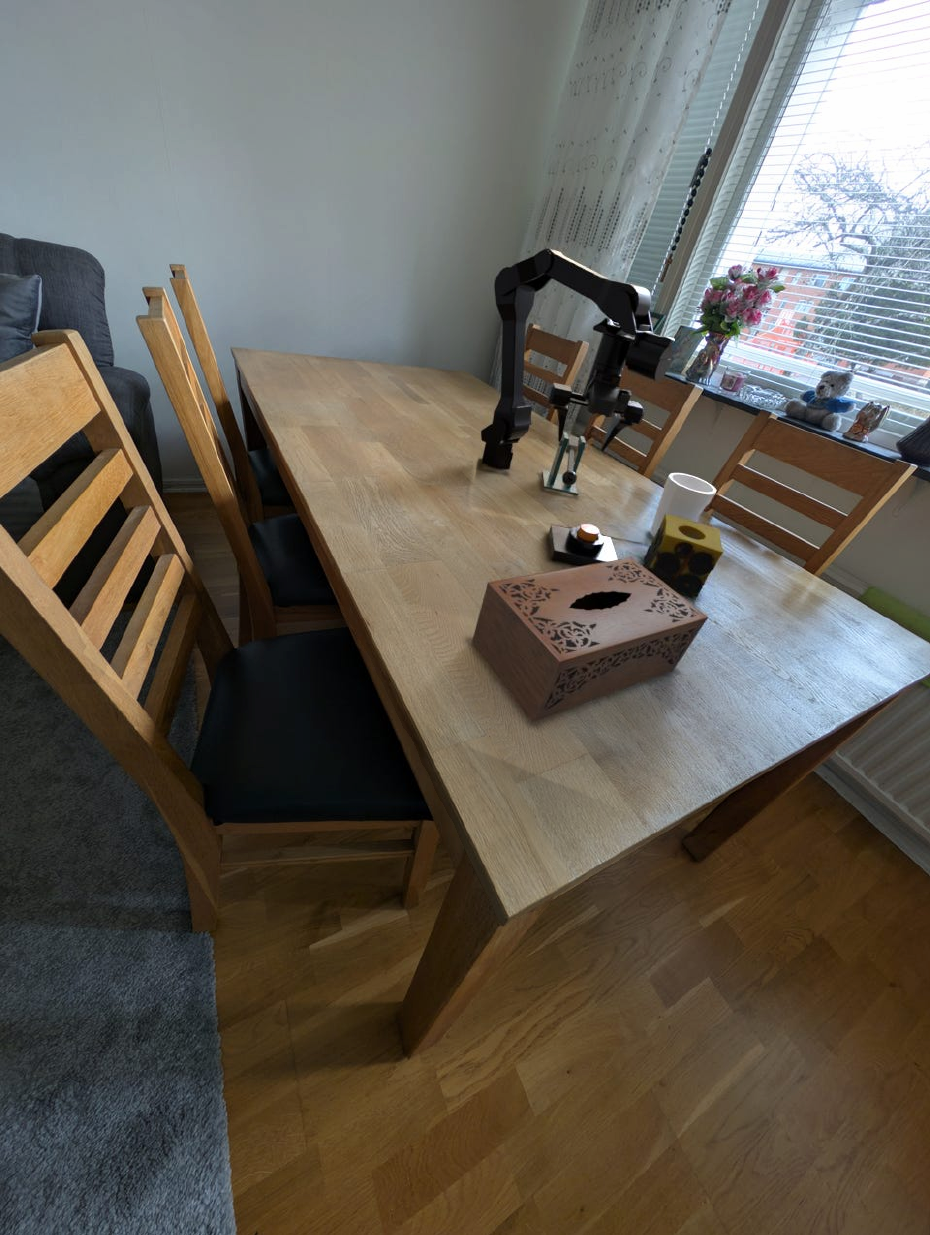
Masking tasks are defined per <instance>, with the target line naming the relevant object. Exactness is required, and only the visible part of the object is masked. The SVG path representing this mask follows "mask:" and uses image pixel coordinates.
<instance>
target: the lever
mask: <svg viewBox="0 0 930 1235" xmlns="http://www.w3.org/2000/svg"><path fill="white" fill-rule="evenodd" d="M568 438H569V440H568V443H567V446H566V449H565V454H566V453H567V464H566V465H567V466H566V471H565V472H563V473H562V475H563V476H562V481H563V483H564V484H565V485H567V486H571V485H573V484H574V483H576V482H577V481H578V476H577V472H576V473H575V472H574V471H573V465H574V454H575V452H576V450H577V448H578V441H579V437H577V436H573V435H568Z"/></svg>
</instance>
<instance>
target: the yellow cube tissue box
mask: <svg viewBox="0 0 930 1235" xmlns="http://www.w3.org/2000/svg"><path fill="white" fill-rule="evenodd" d="M651 540H652V541H651V542H650V544H649V547H648V548H647V552H646V553H645V555H644V557H643V559H644V560H643V565H642V566H643V567H644V568H646V569H647V570H648V571H650V572H651V573H652V574H653V575H655V576H656V577H657V578H659V579H660V580H661V581H663V582H664V583H665V584H666V585H668V586H669V587H670V588H672V589H673V590H674V591H675V592H677V593H678V594H680V595H682V596H686V597H689V598H692V599H697V598H698V597H699V595H700V592H701V591H702V590H703V587H704V586H705V585H706V582H707V581H708V578H709V576H710V575H711V573H712V571H714V569H715V567H716V565H717V563H718V561H719V560H720V558H722V555H723V554H724V548H723V545H722V538H721V530H720V529H719V528H716V527H713V526H710V525H706V524H703V523H700V522H696V521H695V522H693V521H690V520H687V519H684V518H680V517H677V516H674V515H670V514H665V516H664V518H663V521H662V523H661V525H660V528H659V529H658V531H657V533H656V535H655V536H654V537H653V539H651Z"/></svg>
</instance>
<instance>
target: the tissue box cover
mask: <svg viewBox="0 0 930 1235" xmlns="http://www.w3.org/2000/svg"><path fill="white" fill-rule="evenodd" d="M480 607H481V608H480V610H479V614H478V618H477V621H476V625H475V629H474V632H473V636H472V640H471V643H472V645H473V646H474V647H475V649H476V650H477V651H478V653H479V654H480V655H481V657H482V658H483V659H484V660H485V662H486V663H487V664H488V666H489V667H490V668H491V670H492V671H493V672H494V674H495V675H496V676H497V678H498V679H499V680H500V681H501V683H502V684H503V685H504V686H505V689H507V690H508V692H509V693H510V694H511V696H512V697H513V698H514V700H515V702H516V703H518V705H519V706H520V708H521V709H522V710H523V711H524V712H525V714H526V716H528V718H529V719H530V720H531V722H532V723H535V722H538V721H540V720H544V719H545V718H548V717H551V716H553V715H556V714H559V713H562V712H564V711H567V710H570V709H573V708H575V707H579V706H581V705H584V704H587V703H589V702H591V701H594V700H597V699H600V698H603V697H605V696H608V695H611V694H613V693H615V692H619V691H622V690H624V689H627V688H630V687H632V686H636V685H638V684H641V683H643V682H646V681H649V680H651V679H654V678H656V677H657V678H658V677H659V676H662V675H664V674H667V673H670V672H674V670H675V669H676V668H677V666H678V664H679V663H680V661H681V660H682V658H683V656H684V655H685V654H686V653H687V651H688V649H689V648H690V646H691V645H692V643H693V641H694V640H695V639H696V637H697V635H698V634H699V633H700V631H701V630H702V628H703V627H704V624H706V622H707V620H708V619H709V616H708V615H707V614H705V613H704V612H703V611H701V610H700V609H699V608H698V607H697V606H695V605H694V604H692V603H691V602H690V601H689V600H687V599H686V598H685V597H683V595H682V594H680V593H677V592H675V591H674V590H673V589H672V588H670V587H669V586H668V585H666V584H665V583H664V582H663V581H661V580H660V579H659V578H657V577H656V576H655V575H653V574H652V573H651V572H650V571H648V570H647V569H646V568H644V567H643V565H642V564H641V563H639V562H638V561H636V560H635V559H634V558H633V557H625V558H624V557H623V558H620V559H619V558H618V560H613V561H607V562H601V563H596V564H590V565H584V566H573V567H568V568H561V569H557V570H550V571H546V572H539V573H534V574H528V575H523V576H516V577H512V578H511V577H510V578H506V579H499V580H495V581H494V580H493V581H489V582H487V585H486V589H485V592H484V596H483V599H482V603H481V606H480Z"/></svg>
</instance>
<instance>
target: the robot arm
mask: <svg viewBox="0 0 930 1235" xmlns="http://www.w3.org/2000/svg"><path fill="white" fill-rule="evenodd" d="M552 280H553V281H556V282H557V283H559V284H561V285H563V286H565V287H567V288H568V289H571V290H572V291H574V292H576V293H578V294H580V295H582V296H583V297H584V298H585V297H586V298H587V299H589V300H591V301H592V302H593V303H594V304H595V305H596V307H597V308H598V309H599V310H600V312H602V313H603V314H604V315H605V316H606V317H604V318H603V319H602V321H600V322H599V323H597V324H595V325H593V327H592V330H593V332H594V331H595V332H598V333H600V334H602V335H601V337H600V341H599V344H598V346H597V350H596V353H595V356H594V359H593V362H592V364H591V367H590V371H589V374H588V377H587V380H586V384H585V386H584V389H583V393H579V392H574V391H572V388H571V386H570V385H567V384H562V383H557V382H552V383H551V384H550V385H549V387H548V390H547V394H546V398H547V403H549V404H550V405H552V408H553V409H554V410H556V413H557V442H558V443H559V442H560V441H561V438H562V435H563V432H564V430H565V425H566V421H567V416H568V413H569V407H568V405H569V404H570V403H571V404H576V405H578V406H579V405H580V406H584V407H587V411H588V413H590V414H592V415H601V416H604V417H605V418H611V421H610V424H609V426H608V428H607V430H606V433H605V435H604V438H603V440H602V443H601V447H600V452H604V451H605V450H606V449H607V448H608V446H609V445H610V444H611V442H612V441H613V440H614V438H615V437H616V436H617V435H618V434H619V433H621V431H623V429H626V428H627V427H630V428H631V427H633V425H641V424H642V422H643V419H644V417H645V409H644V408H643V406H642V405H641V403H640V402H638V401H635V400H634V401H633V400H631V397H632V391H631V390H628V389H627V390H626V389H624V388H623V389H622V388H621V389H619V387H620V383H621V378H622V373H623V370H624V369H625V367H626V368H627V371H628V372H629V373H631V374H634V375H637V376H639V377H642V378H646V379H648V380H652V381H654V382H659V381H661V380H662V379H663V378H664V376H665V375H666V373H667V372H668V370H669V368H670V367H671V363H672V361H673V360H672V358H673V354H674V347H673V346H674V343H675V340H676V339H675V338H673V337H670V336H662V335H659V334H656V333H654V329H653V324H652V319H651V314H650V313H651V312H650V309H651V305H652V297H651V292H650V291H649V290H648V289H647V288H646V287H644V286H641V285H637V284H631V283H628V282H623V281H619V280H614V279H611V278H608V277H606V276H604V275H602V274H601V273H598V272H596V271H594V270H593V269H590V268H589V267H588V266H585V265H583V264H582V263H579V262H577V261H575V260H573V259H571V258H570V257H567V256H565V255H564V254H563V253H562V252H561V251H560V250H555V249H551V248H544V249H543V248H542V250H540V251H539V252H537V253H535V254H534V255H532V256H530V257H527V258H525V259H522V260H520V261H518V262H516V263H514V264H513V265H512V266H505V267H503V268H502V269H501V270H500V271H499V272H498V273H497V275H496V276H495V279H494V284H493V290H494V291H493V292H494V298H495V306H496V309H497V312H498V314H499V316H500V319H501V328H502V329H501V359H500V360H501V366H500V397H499V399H498V402H497V404H496V406H495V408H494V412H493V418H492V423H491V424H489V425H487V426H486V427H485V428H483V429H482V430H481V431H480V440H481V441H482V442H484V443H485V444H484V448H483V453H482V458H481V464H483V465H486V466H487V467H489V468H493V469H498V470H501V469H503V470H510V468H511V464H512V460H513V456H514V449H513V447H514V446H513V444H519V441H520V440H521V438H524V437H525V435H526V434H527V433H528V432H529V430H530V426H532V423H533V422H532V412H533V407H532V405H531V404H529V405H527V404H526V401H525V399H524V375H525V352H526V330H527V327H526V326H527V320H528V317H529V315H530V313H531V311H532V309H533V307H534V302H535V295H536V293H538V292H539V291H541V290H543V289H544V288H546V286H547V285H548V284H550V282H551V281H552ZM614 323H615V324H614ZM616 324H618V325H616ZM633 336H634V337H633Z"/></svg>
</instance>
